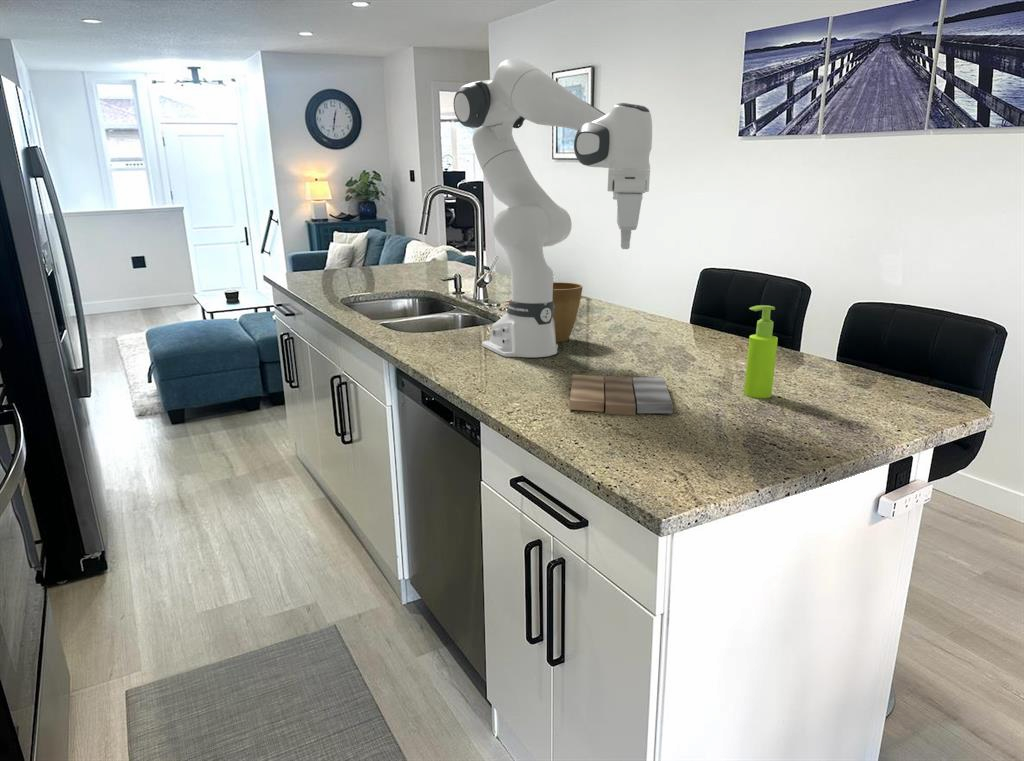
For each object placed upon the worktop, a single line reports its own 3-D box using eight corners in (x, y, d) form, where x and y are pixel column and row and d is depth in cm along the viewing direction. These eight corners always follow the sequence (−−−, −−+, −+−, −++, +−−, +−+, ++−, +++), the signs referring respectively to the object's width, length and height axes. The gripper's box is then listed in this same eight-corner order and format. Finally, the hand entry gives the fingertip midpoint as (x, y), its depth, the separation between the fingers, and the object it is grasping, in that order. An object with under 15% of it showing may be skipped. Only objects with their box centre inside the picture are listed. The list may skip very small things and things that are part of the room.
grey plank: (632, 386, 166) (632, 377, 166) (663, 385, 166) (663, 377, 165) (637, 413, 147) (637, 403, 147) (672, 413, 147) (672, 403, 146)
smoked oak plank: (572, 382, 168) (573, 374, 167) (602, 384, 167) (603, 376, 167) (569, 409, 149) (569, 400, 148) (603, 411, 148) (604, 402, 148)
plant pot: (580, 334, 220) (582, 282, 215) (580, 346, 205) (582, 289, 201) (531, 333, 221) (532, 280, 217) (527, 344, 207) (528, 288, 202)
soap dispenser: (734, 392, 163) (743, 304, 158) (759, 389, 165) (769, 302, 160) (751, 399, 158) (761, 309, 152) (777, 397, 160) (787, 307, 155)
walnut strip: (604, 384, 168) (604, 375, 168) (630, 385, 168) (631, 376, 167) (605, 413, 147) (605, 404, 147) (635, 415, 146) (635, 405, 146)
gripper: (612, 182, 166) (609, 243, 170) (614, 183, 147) (611, 252, 150) (640, 183, 165) (637, 244, 169) (646, 184, 146) (642, 253, 150)
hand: (625, 248), depth 160 cm, fingers closed
